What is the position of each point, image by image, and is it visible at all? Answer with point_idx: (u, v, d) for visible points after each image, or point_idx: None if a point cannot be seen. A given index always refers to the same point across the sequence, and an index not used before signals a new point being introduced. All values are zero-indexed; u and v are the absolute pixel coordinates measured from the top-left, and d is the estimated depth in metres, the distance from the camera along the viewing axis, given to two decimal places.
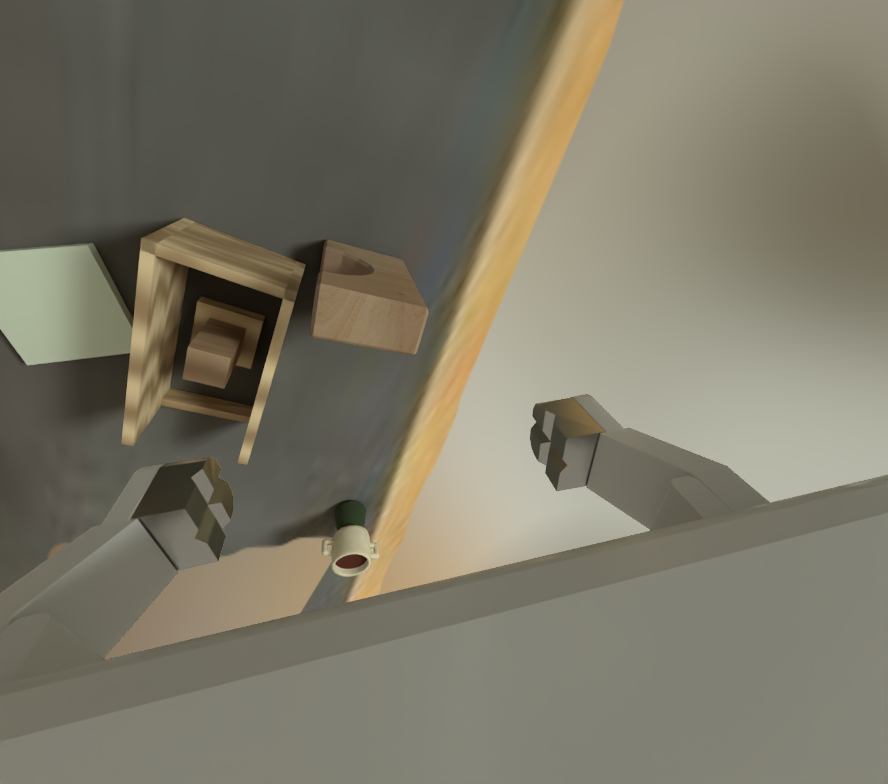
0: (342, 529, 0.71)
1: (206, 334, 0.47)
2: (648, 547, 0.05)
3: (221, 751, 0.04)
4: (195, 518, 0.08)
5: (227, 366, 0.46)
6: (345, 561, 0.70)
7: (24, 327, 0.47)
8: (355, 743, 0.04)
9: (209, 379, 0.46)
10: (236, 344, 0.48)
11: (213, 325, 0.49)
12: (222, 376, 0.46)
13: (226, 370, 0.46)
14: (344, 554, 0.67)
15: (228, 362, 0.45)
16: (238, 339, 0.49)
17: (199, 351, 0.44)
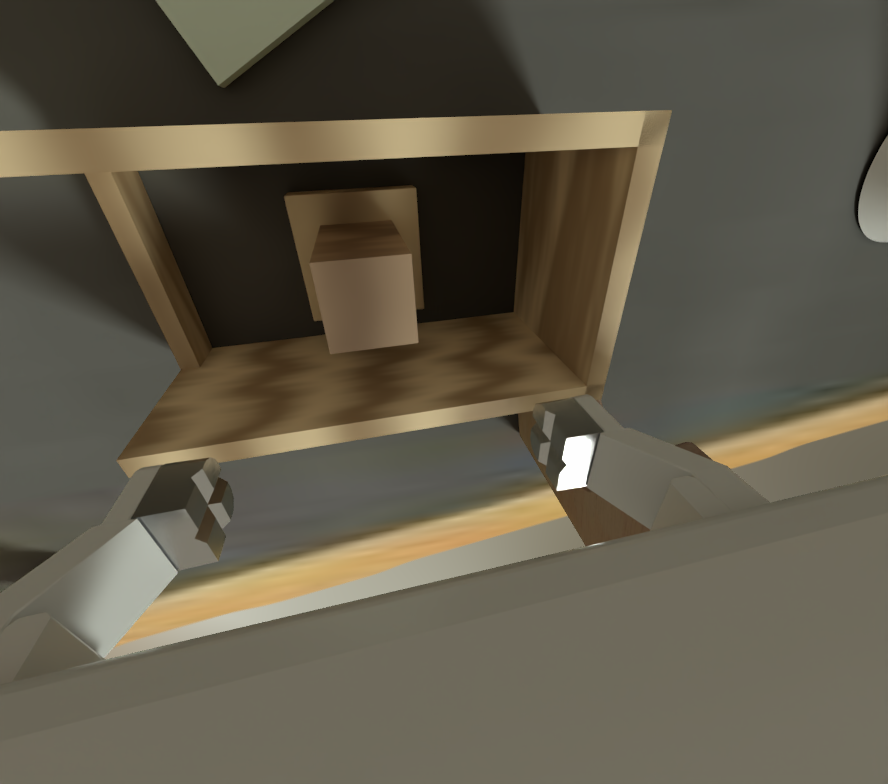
0: None
1: None
2: (648, 546, 0.05)
3: (221, 751, 0.04)
4: (195, 518, 0.08)
5: (394, 343, 0.19)
6: None
7: None
8: (355, 743, 0.04)
9: (340, 320, 0.18)
10: None
11: None
12: (363, 342, 0.19)
13: (383, 344, 0.19)
14: None
15: (406, 341, 0.19)
16: None
17: (411, 281, 0.18)
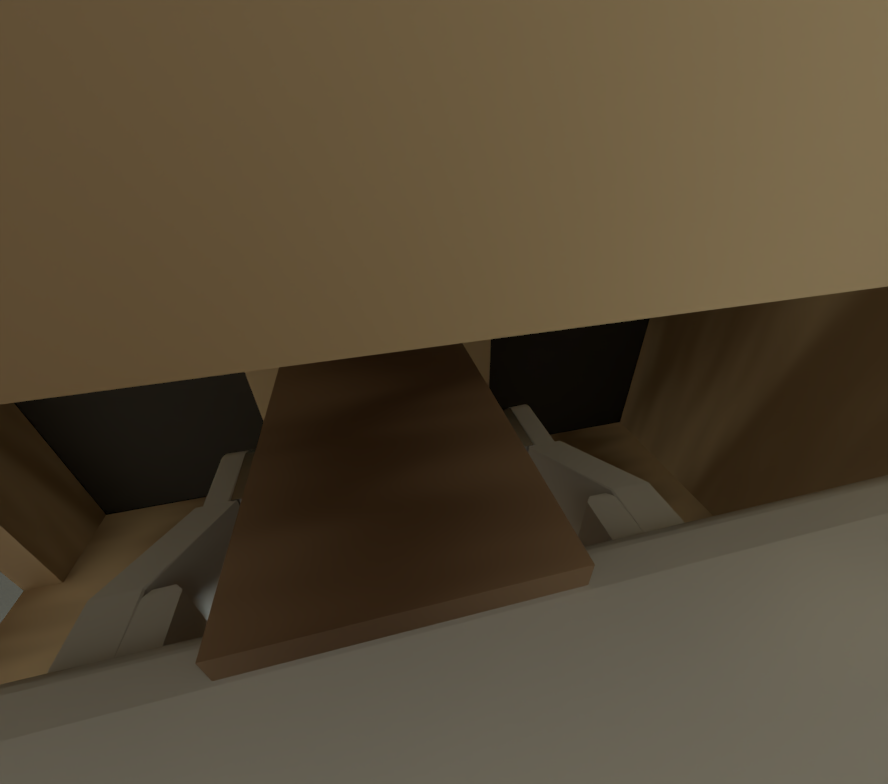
0: None
1: None
2: (648, 546, 0.05)
3: (221, 751, 0.04)
4: None
5: None
6: None
7: None
8: (354, 742, 0.04)
9: None
10: None
11: None
12: None
13: None
14: None
15: None
16: None
17: None
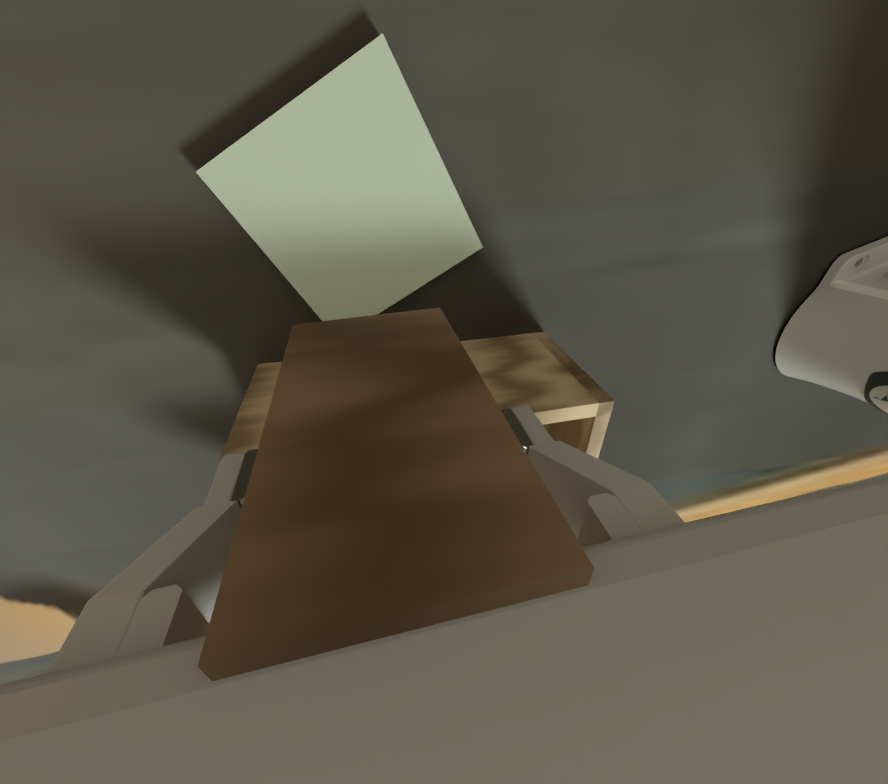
0: None
1: None
2: (648, 546, 0.05)
3: (221, 751, 0.04)
4: None
5: None
6: None
7: (289, 166, 0.24)
8: (354, 742, 0.04)
9: None
10: None
11: None
12: None
13: None
14: None
15: None
16: None
17: None
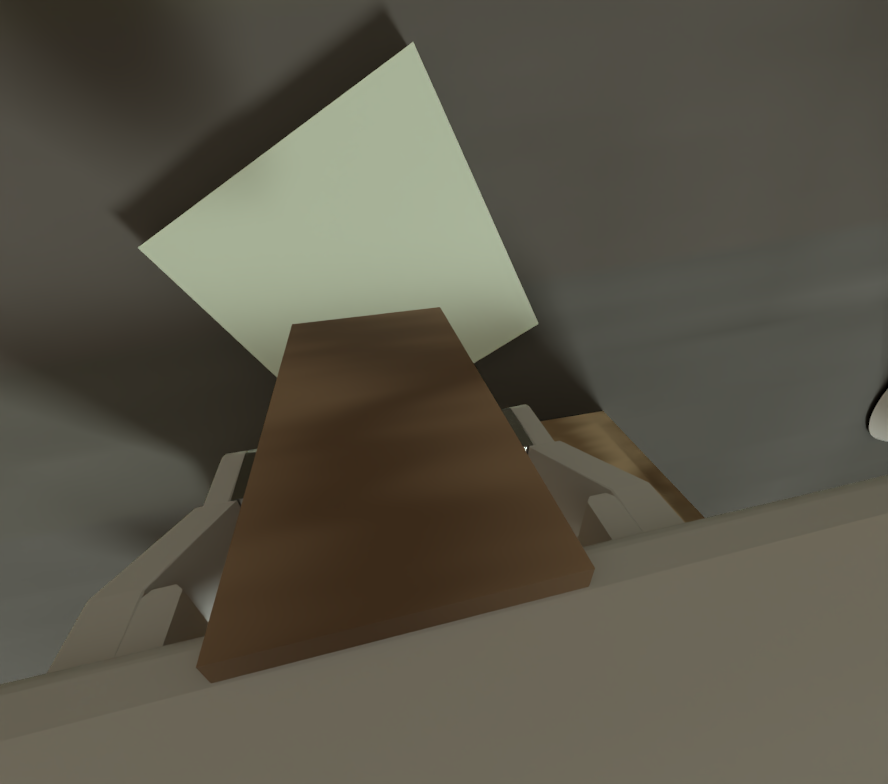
0: None
1: None
2: (647, 546, 0.05)
3: (221, 751, 0.04)
4: None
5: None
6: None
7: (276, 234, 0.17)
8: (355, 742, 0.04)
9: None
10: None
11: None
12: None
13: None
14: None
15: None
16: None
17: None
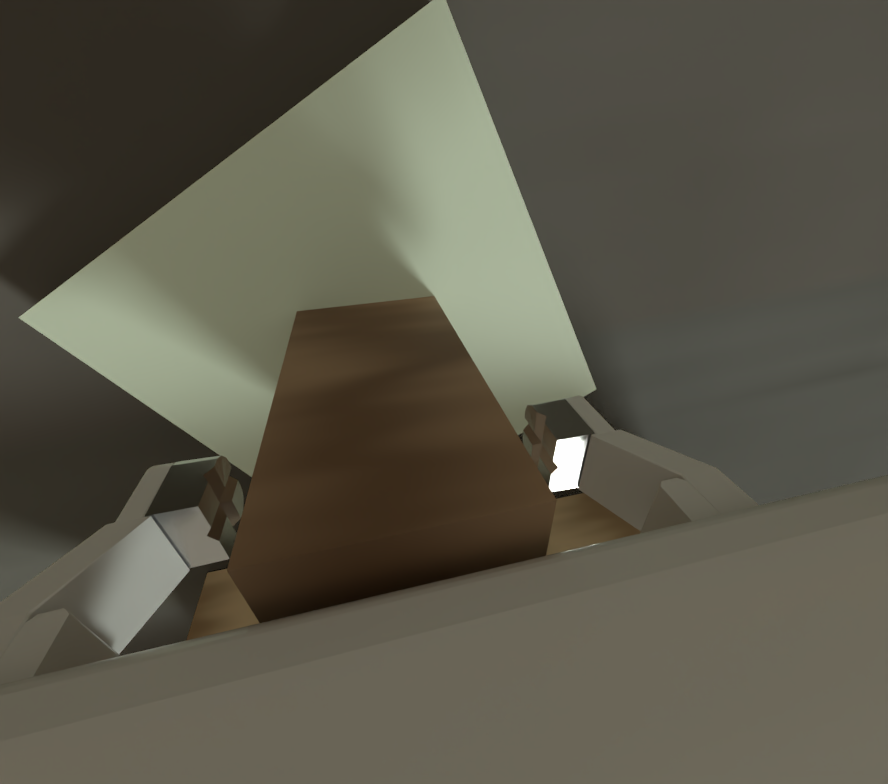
0: None
1: None
2: (648, 546, 0.05)
3: (221, 751, 0.04)
4: (208, 515, 0.08)
5: None
6: None
7: (233, 291, 0.11)
8: (354, 742, 0.04)
9: None
10: None
11: None
12: None
13: None
14: None
15: None
16: None
17: (540, 552, 0.06)
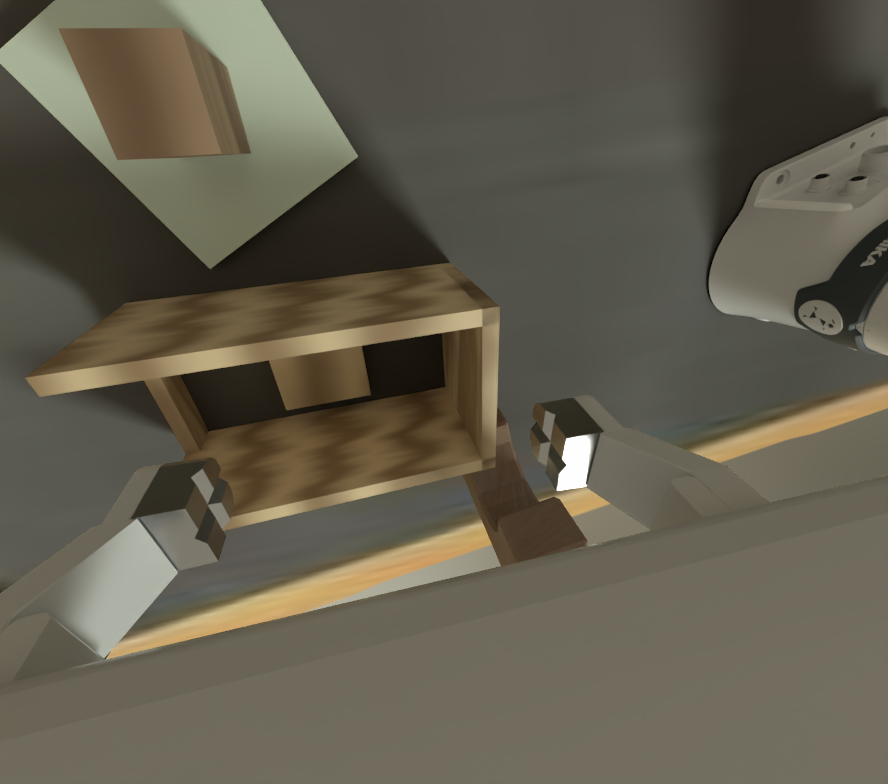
0: None
1: (212, 70, 0.20)
2: (648, 546, 0.05)
3: (221, 751, 0.04)
4: (195, 518, 0.08)
5: (192, 151, 0.18)
6: None
7: None
8: (354, 743, 0.04)
9: (117, 113, 0.17)
10: (234, 149, 0.21)
11: (225, 80, 0.22)
12: (154, 146, 0.18)
13: (178, 151, 0.18)
14: None
15: (205, 150, 0.18)
16: (239, 147, 0.23)
17: (190, 66, 0.17)
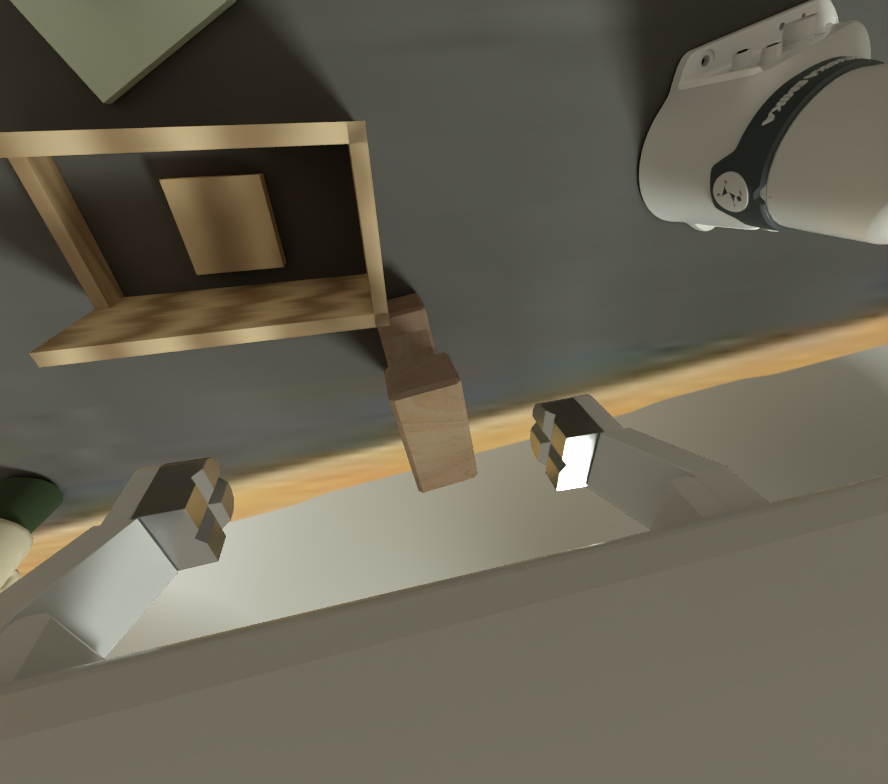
0: None
1: None
2: (648, 546, 0.05)
3: (221, 751, 0.04)
4: (195, 518, 0.08)
5: None
6: None
7: None
8: (354, 743, 0.04)
9: None
10: None
11: None
12: None
13: None
14: None
15: None
16: None
17: None
